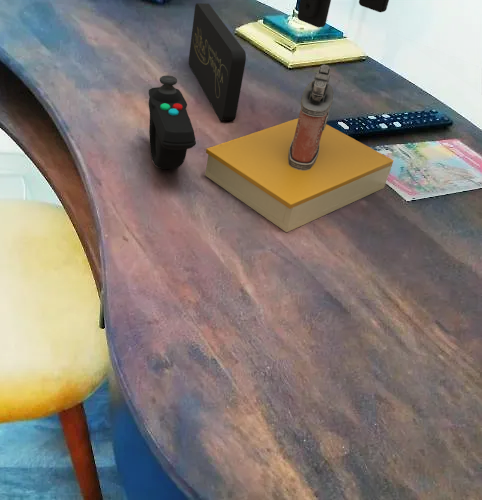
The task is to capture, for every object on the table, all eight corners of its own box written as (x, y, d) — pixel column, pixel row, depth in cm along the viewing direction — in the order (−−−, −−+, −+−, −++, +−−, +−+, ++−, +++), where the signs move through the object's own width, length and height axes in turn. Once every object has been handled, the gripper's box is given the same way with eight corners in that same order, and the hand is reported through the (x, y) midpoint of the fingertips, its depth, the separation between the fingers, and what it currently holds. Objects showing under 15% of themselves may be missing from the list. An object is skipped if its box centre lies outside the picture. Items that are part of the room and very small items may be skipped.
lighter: (313, 173, 73) (335, 90, 67) (283, 166, 74) (303, 84, 68) (321, 141, 79) (342, 63, 73) (293, 135, 80) (312, 58, 74)
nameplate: (234, 123, 90) (247, 53, 84) (221, 123, 90) (233, 53, 84) (199, 63, 106) (207, 1, 100) (188, 63, 106) (195, 1, 100)
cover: (289, 209, 68) (291, 204, 68) (205, 152, 76) (206, 148, 76) (392, 164, 78) (394, 160, 77) (307, 118, 86) (308, 114, 85)
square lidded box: (286, 232, 71) (293, 207, 69) (204, 175, 79) (208, 151, 77) (384, 188, 80) (392, 164, 78) (301, 140, 88) (307, 118, 86)
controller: (173, 142, 85) (182, 69, 79) (192, 194, 75) (203, 116, 69) (141, 142, 84) (147, 68, 78) (156, 194, 75) (163, 116, 68)
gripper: (362, -178, 49) (314, 42, 60) (482, -179, 58) (422, 13, 69) (289, -189, 54) (256, 18, 65) (411, -188, 63) (365, -6, 73)
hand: (342, 15), depth 67 cm, fingers open, 9 cm apart
